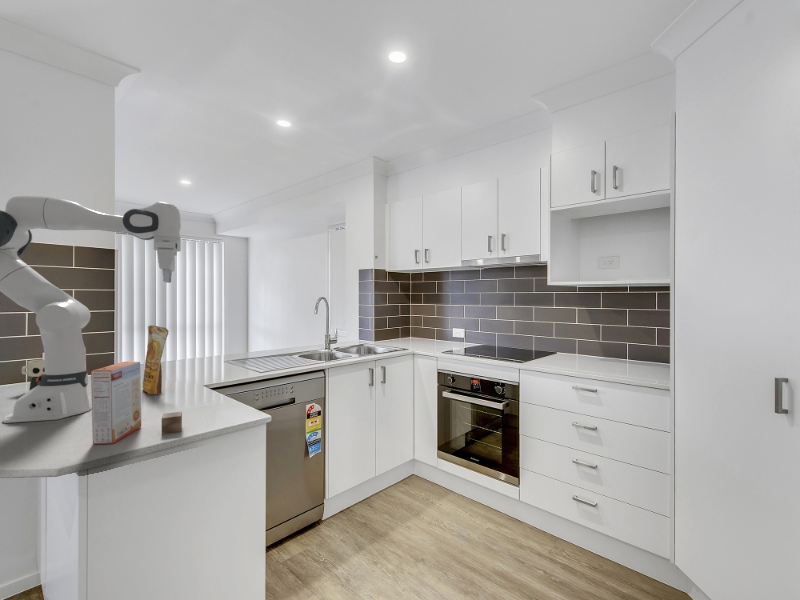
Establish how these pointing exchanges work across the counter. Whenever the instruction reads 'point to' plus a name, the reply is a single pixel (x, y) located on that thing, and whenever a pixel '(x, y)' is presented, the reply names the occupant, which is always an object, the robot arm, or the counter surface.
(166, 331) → the pancake mix bag
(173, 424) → the walnut cube
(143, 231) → the robot arm
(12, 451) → the counter surface
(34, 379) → the character mug
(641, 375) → the counter surface
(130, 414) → the cracker box
